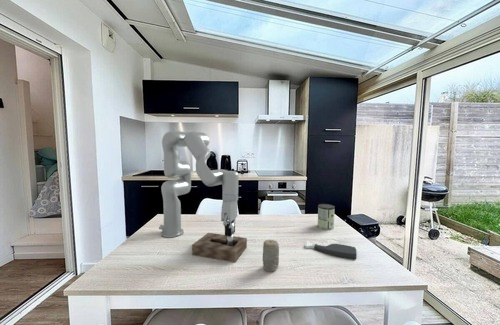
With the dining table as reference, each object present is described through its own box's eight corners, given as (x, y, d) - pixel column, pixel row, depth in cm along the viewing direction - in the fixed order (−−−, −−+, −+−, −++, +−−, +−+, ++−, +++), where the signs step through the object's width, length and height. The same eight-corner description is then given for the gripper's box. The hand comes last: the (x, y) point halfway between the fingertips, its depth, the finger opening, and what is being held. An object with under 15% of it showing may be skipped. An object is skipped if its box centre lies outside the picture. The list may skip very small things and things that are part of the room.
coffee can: (319, 223, 157) (320, 203, 156) (335, 226, 151) (336, 205, 150) (315, 227, 148) (316, 206, 147) (331, 231, 143) (332, 208, 142)
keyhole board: (192, 254, 109) (192, 244, 109) (208, 241, 124) (208, 232, 124) (235, 262, 103) (235, 251, 102) (246, 247, 118) (246, 238, 117)
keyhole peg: (222, 252, 110) (222, 224, 109) (226, 247, 115) (227, 220, 114) (233, 254, 108) (233, 225, 107) (237, 249, 114) (237, 222, 113)
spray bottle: (356, 261, 106) (303, 251, 116) (356, 251, 116) (307, 243, 126) (356, 255, 106) (303, 245, 116) (356, 246, 116) (307, 238, 126)
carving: (259, 269, 97) (259, 241, 96) (270, 263, 103) (271, 236, 102) (270, 275, 93) (271, 246, 92) (281, 268, 98) (282, 241, 97)
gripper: (229, 192, 119) (229, 227, 120) (215, 200, 103) (215, 239, 104) (243, 194, 117) (242, 229, 118) (230, 201, 101) (230, 241, 102)
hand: (229, 233), depth 111 cm, fingers closed on keyhole peg, 4 cm apart
